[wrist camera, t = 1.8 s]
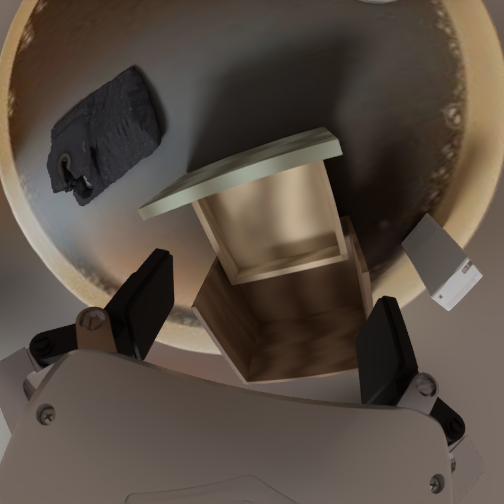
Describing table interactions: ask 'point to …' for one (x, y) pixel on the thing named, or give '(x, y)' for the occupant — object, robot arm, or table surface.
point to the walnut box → (289, 318)
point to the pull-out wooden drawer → (265, 207)
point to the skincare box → (440, 263)
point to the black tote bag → (103, 137)
